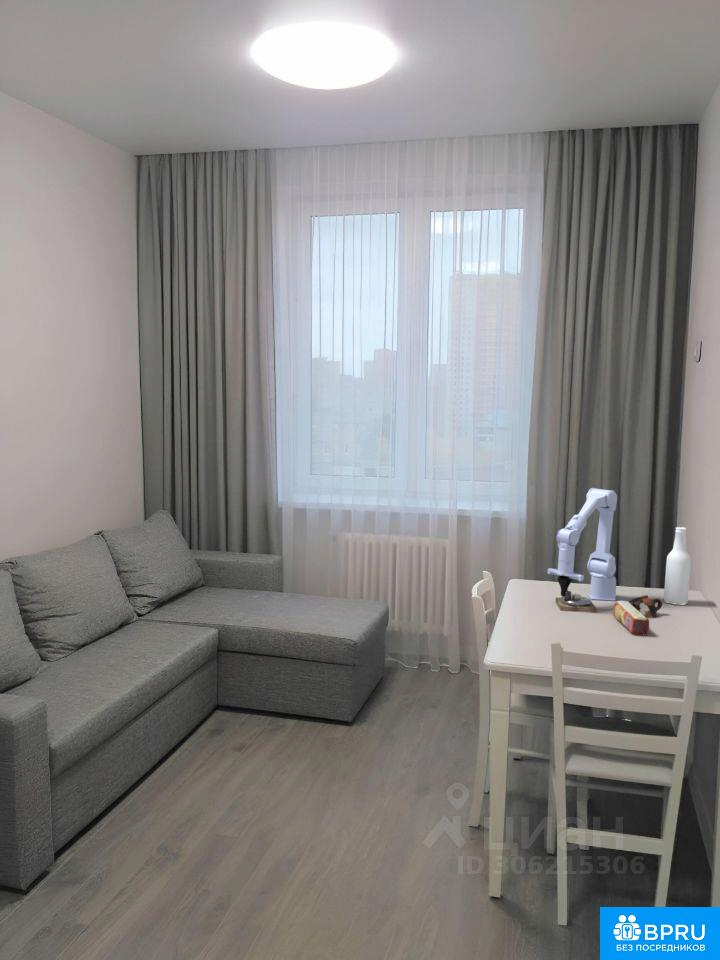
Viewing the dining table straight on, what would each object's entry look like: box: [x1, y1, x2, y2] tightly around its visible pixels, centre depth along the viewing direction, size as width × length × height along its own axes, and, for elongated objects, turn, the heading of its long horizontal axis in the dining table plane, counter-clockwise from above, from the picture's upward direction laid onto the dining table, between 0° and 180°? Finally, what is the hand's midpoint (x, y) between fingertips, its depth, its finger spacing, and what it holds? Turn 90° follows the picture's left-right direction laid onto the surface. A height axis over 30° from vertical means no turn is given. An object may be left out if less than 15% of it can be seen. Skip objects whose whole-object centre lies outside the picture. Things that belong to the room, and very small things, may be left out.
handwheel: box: [560, 590, 592, 606], centre depth 293 cm, size 11×11×5 cm
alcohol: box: [663, 526, 692, 604], centre depth 302 cm, size 9×9×30 cm
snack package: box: [612, 600, 650, 636], centre depth 269 cm, size 21×7×7 cm, turn 178°
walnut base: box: [555, 597, 597, 613], centre depth 293 cm, size 13×13×2 cm
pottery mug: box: [628, 594, 663, 618], centre depth 286 cm, size 12×10×8 cm
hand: (563, 595), depth 292 cm, fingers closed, pressing on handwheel
